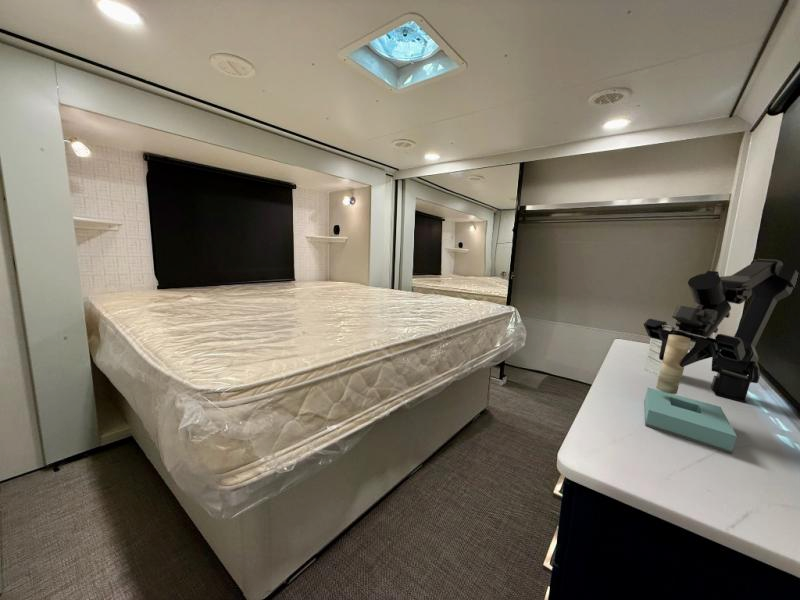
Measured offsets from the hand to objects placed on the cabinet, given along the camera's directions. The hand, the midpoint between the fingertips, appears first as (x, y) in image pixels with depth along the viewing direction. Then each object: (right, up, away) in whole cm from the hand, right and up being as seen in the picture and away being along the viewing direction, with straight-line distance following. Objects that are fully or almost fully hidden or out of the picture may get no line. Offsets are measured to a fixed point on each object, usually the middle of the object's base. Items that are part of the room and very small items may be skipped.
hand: (670, 362), depth 75 cm
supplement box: (+23, -10, +29) cm, 39 cm away
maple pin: (+1, -7, +2) cm, 8 cm away
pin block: (+1, -14, -2) cm, 14 cm away
